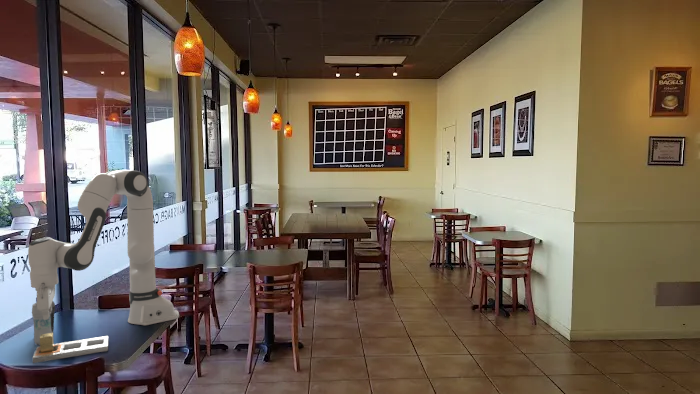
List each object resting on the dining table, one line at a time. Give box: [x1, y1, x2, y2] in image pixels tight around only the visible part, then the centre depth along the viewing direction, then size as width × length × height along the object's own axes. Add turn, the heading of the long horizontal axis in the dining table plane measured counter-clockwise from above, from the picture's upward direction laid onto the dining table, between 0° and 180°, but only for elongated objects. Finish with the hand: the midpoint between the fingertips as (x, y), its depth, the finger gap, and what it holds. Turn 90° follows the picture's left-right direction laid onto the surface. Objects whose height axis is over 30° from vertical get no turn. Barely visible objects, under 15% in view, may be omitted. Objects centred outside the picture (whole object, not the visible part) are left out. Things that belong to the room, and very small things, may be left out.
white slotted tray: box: [32, 335, 109, 364], centre depth 187 cm, size 25×12×2 cm, turn 116°
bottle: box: [31, 296, 52, 346], centre depth 195 cm, size 7×7×20 cm
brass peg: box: [39, 332, 55, 353], centre depth 183 cm, size 4×4×8 cm
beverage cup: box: [50, 300, 56, 334], centre depth 206 cm, size 7×7×20 cm
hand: (47, 315), depth 183 cm, fingers open, 8 cm apart
